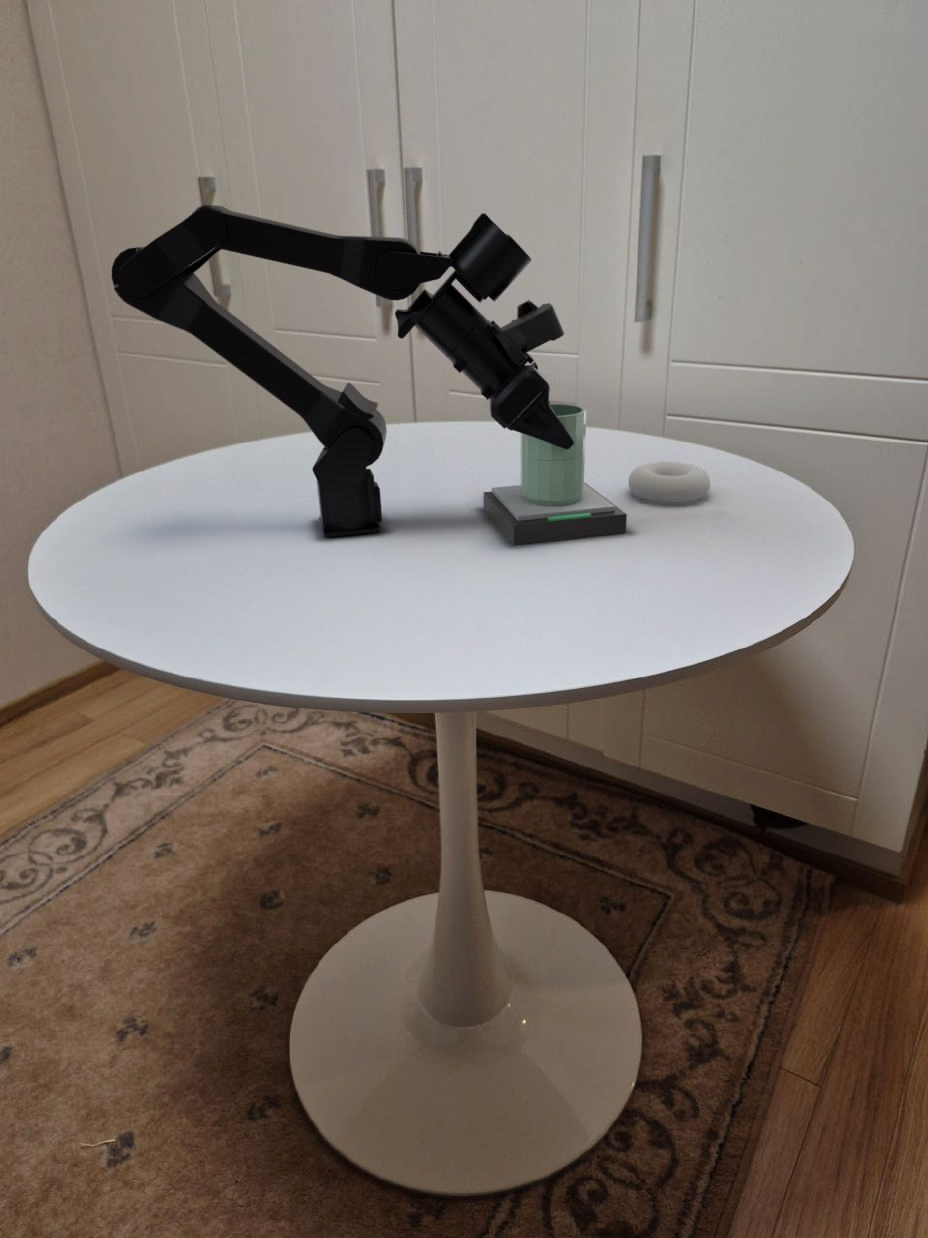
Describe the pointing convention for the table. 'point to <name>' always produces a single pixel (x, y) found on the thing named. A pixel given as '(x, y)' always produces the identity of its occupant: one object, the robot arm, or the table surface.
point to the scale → (552, 516)
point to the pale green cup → (555, 462)
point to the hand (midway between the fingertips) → (565, 436)
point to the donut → (669, 482)
